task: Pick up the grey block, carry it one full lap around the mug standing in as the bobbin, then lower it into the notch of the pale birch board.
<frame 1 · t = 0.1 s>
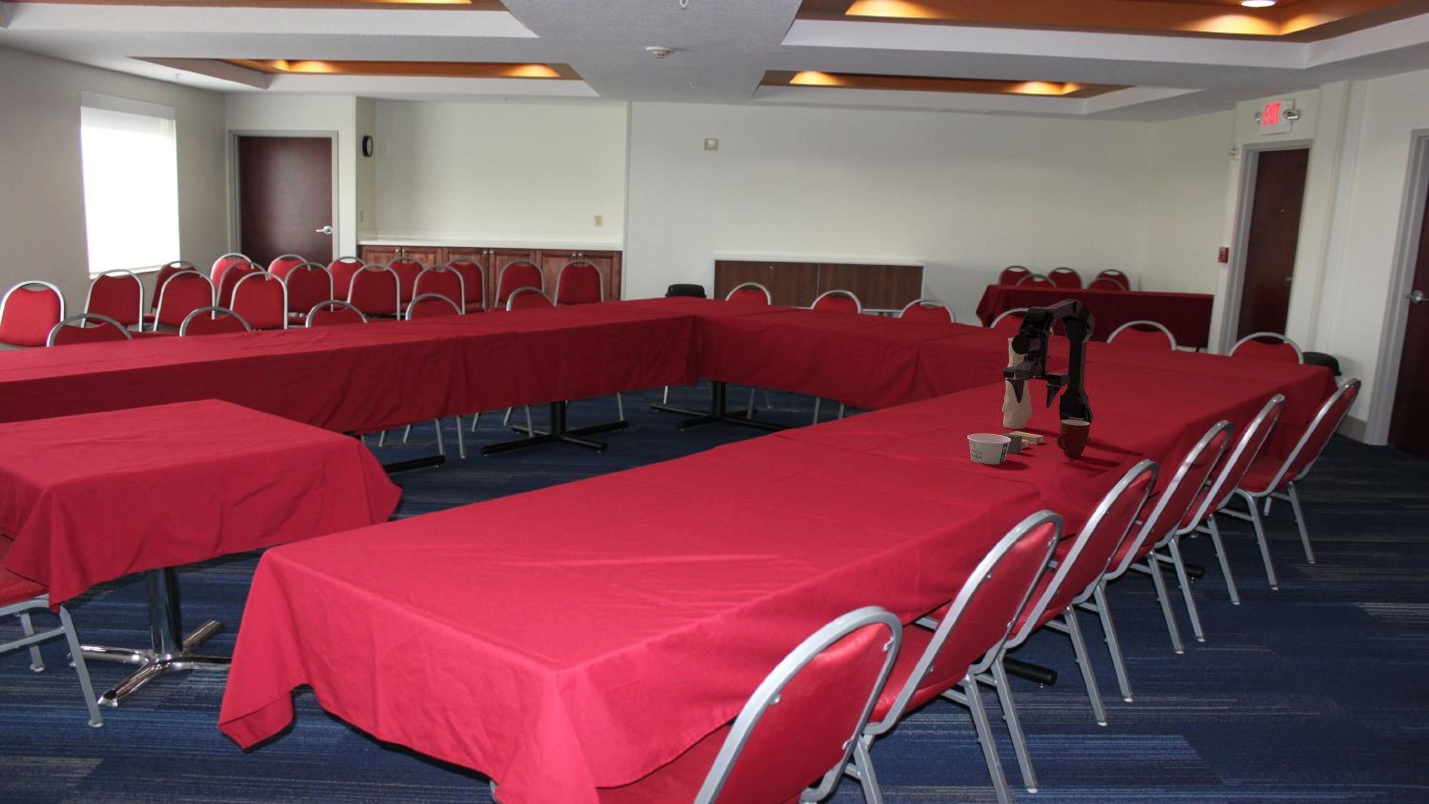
hand: (1033, 405, 306), 15 cm above the table, fingers open, 9 cm apart
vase: (1015, 428, 347), on the table
notch board: (1017, 443, 324), on the table
food container: (987, 461, 301), on the table
mug: (1069, 457, 307), on the table
grey block: (1010, 451, 313), on the table
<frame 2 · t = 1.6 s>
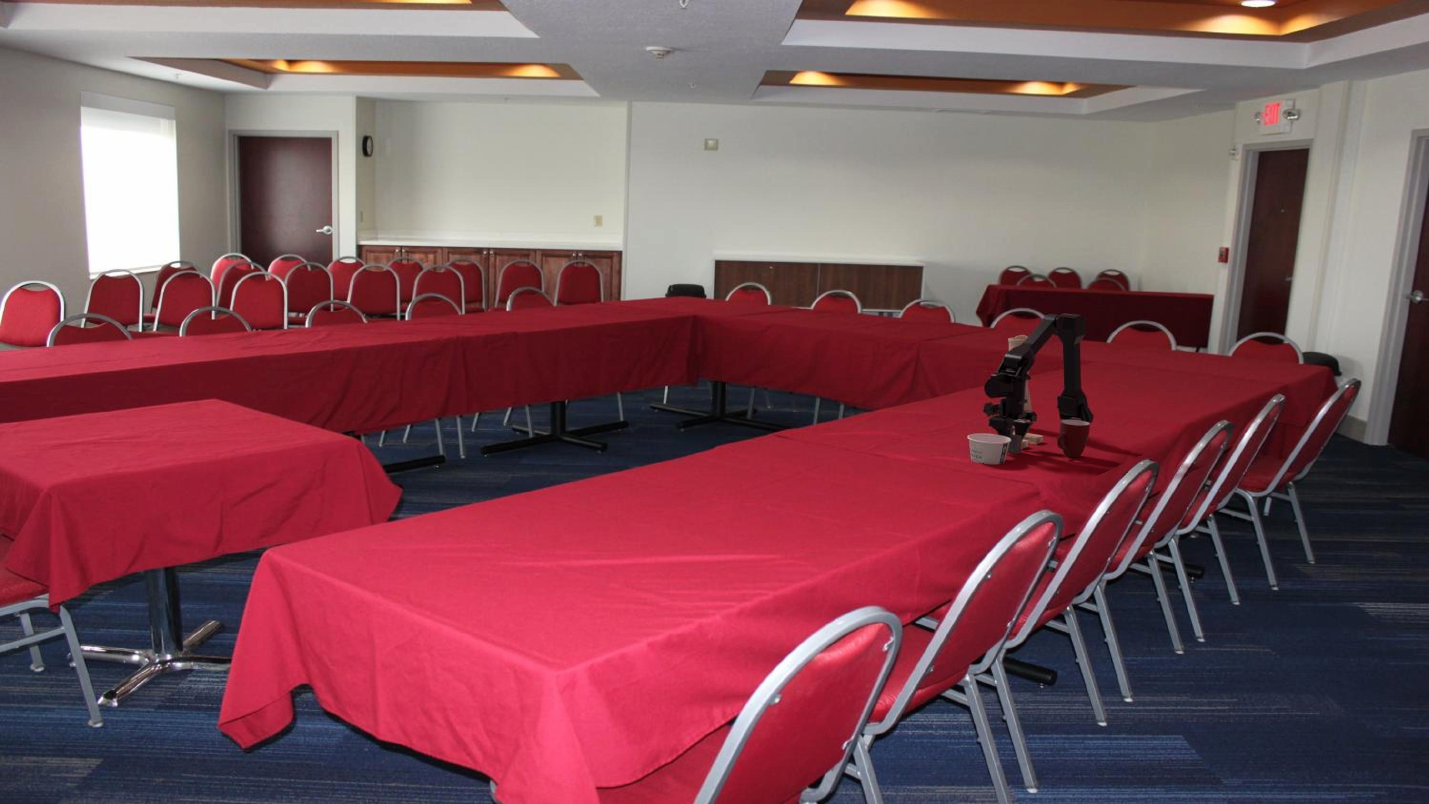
hand: (1010, 447, 312), 1 cm above the table, fingers open, 8 cm apart
nothing on the table moved.
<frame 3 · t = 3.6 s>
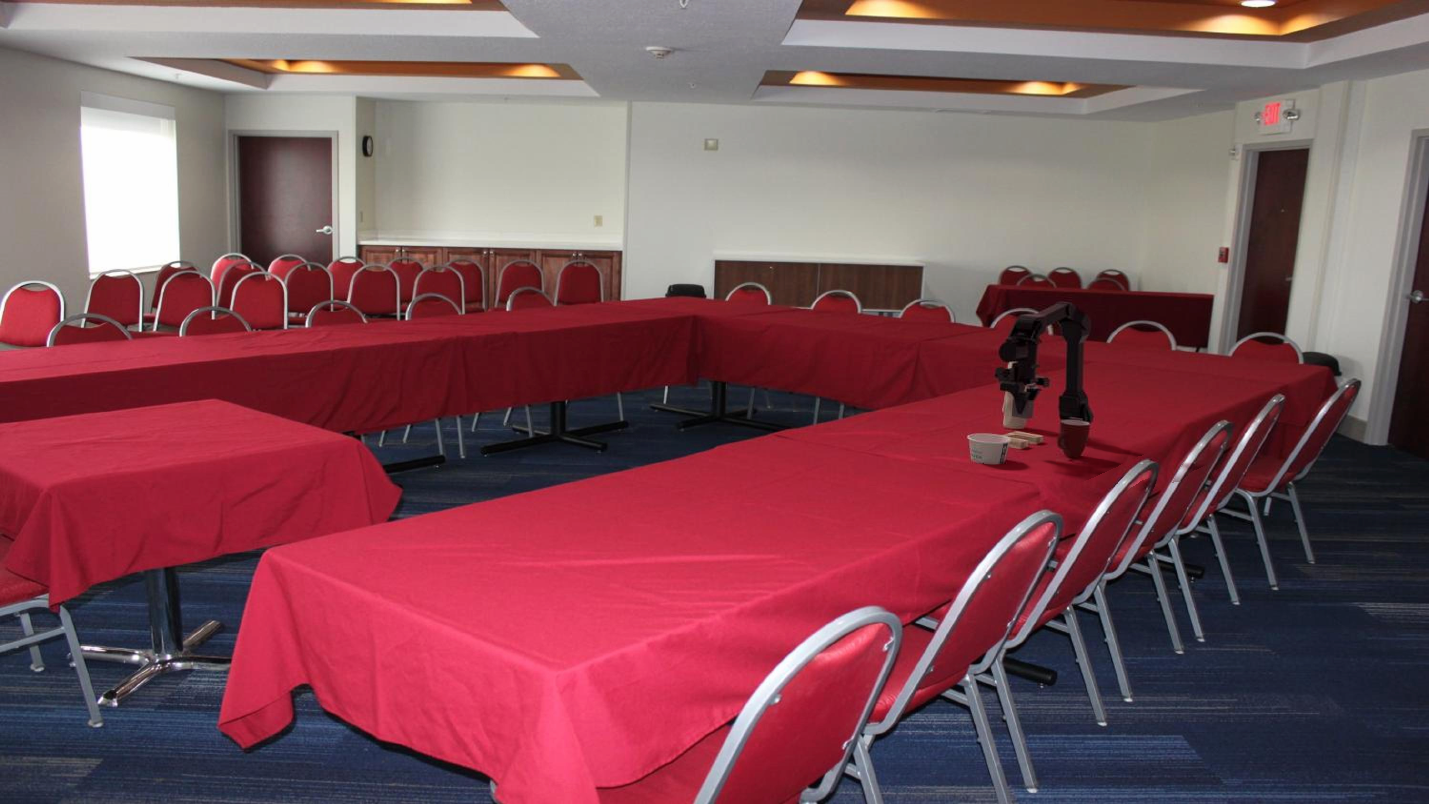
hand: (1022, 413, 307), 12 cm above the table, fingers closed on grey block, 3 cm apart
grey block: (1022, 416, 307), point 11 cm above the table, touching gripper
everything else where it was.
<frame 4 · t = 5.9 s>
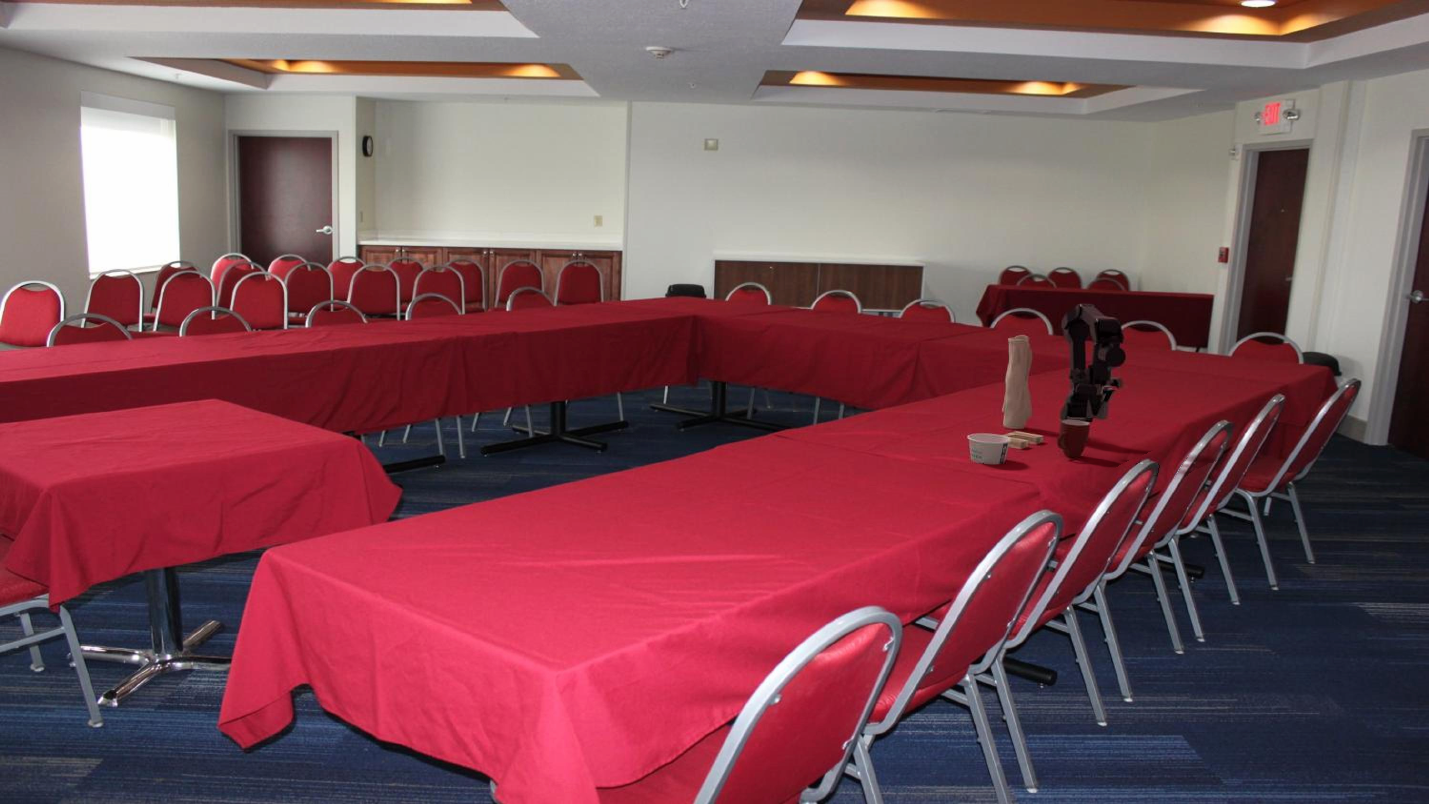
hand: (1097, 414, 309), 12 cm above the table, fingers closed on grey block, 3 cm apart
grey block: (1096, 417, 310), point 11 cm above the table, touching gripper
everything else where it was.
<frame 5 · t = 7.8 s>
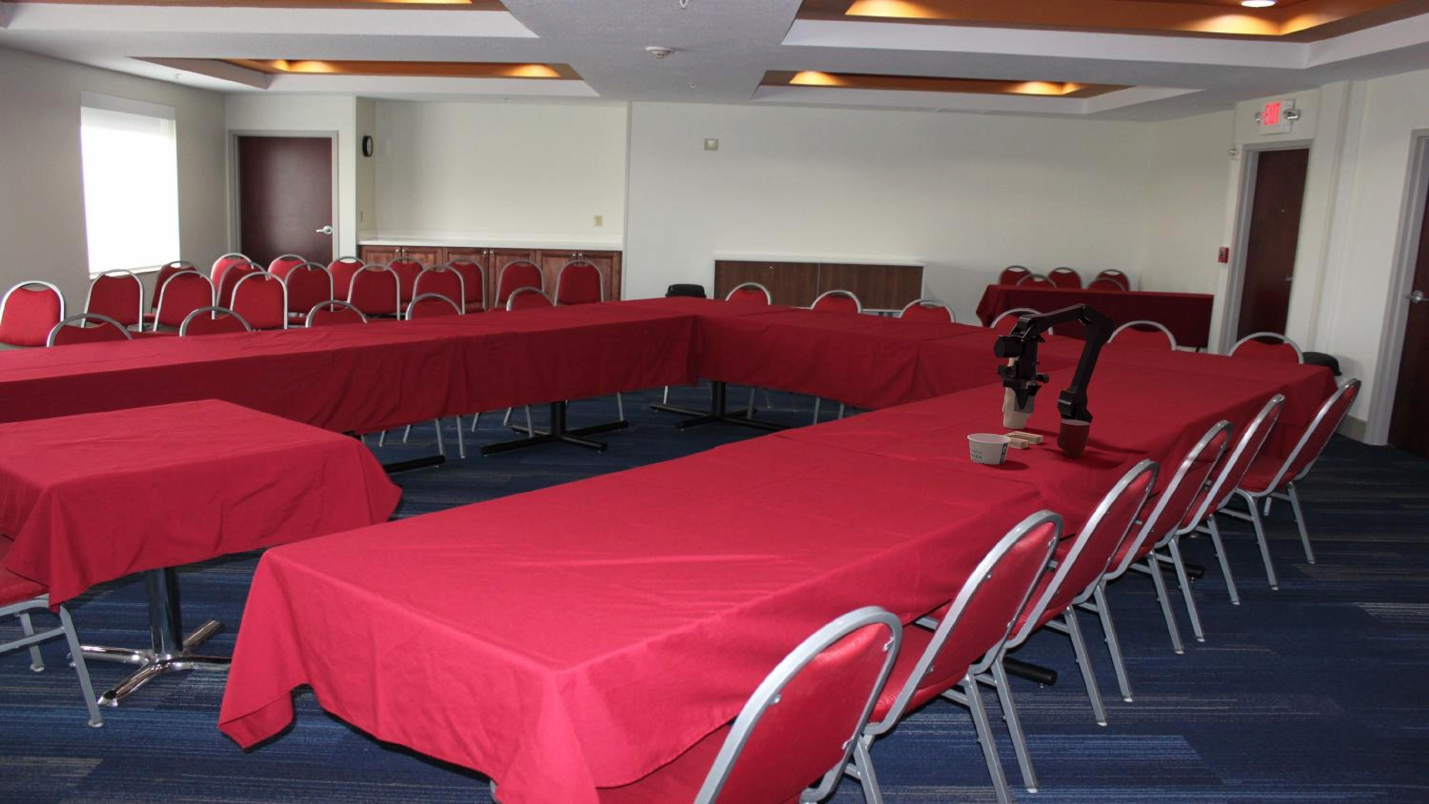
hand: (1023, 408, 321), 11 cm above the table, fingers closed on grey block, 3 cm apart
grey block: (1023, 411, 321), point 10 cm above the table, touching gripper
everything else where it was.
when the fingers open (3 cm above the table, at t = 9.4 s): grey block drops 2 cm, resting in notch board.
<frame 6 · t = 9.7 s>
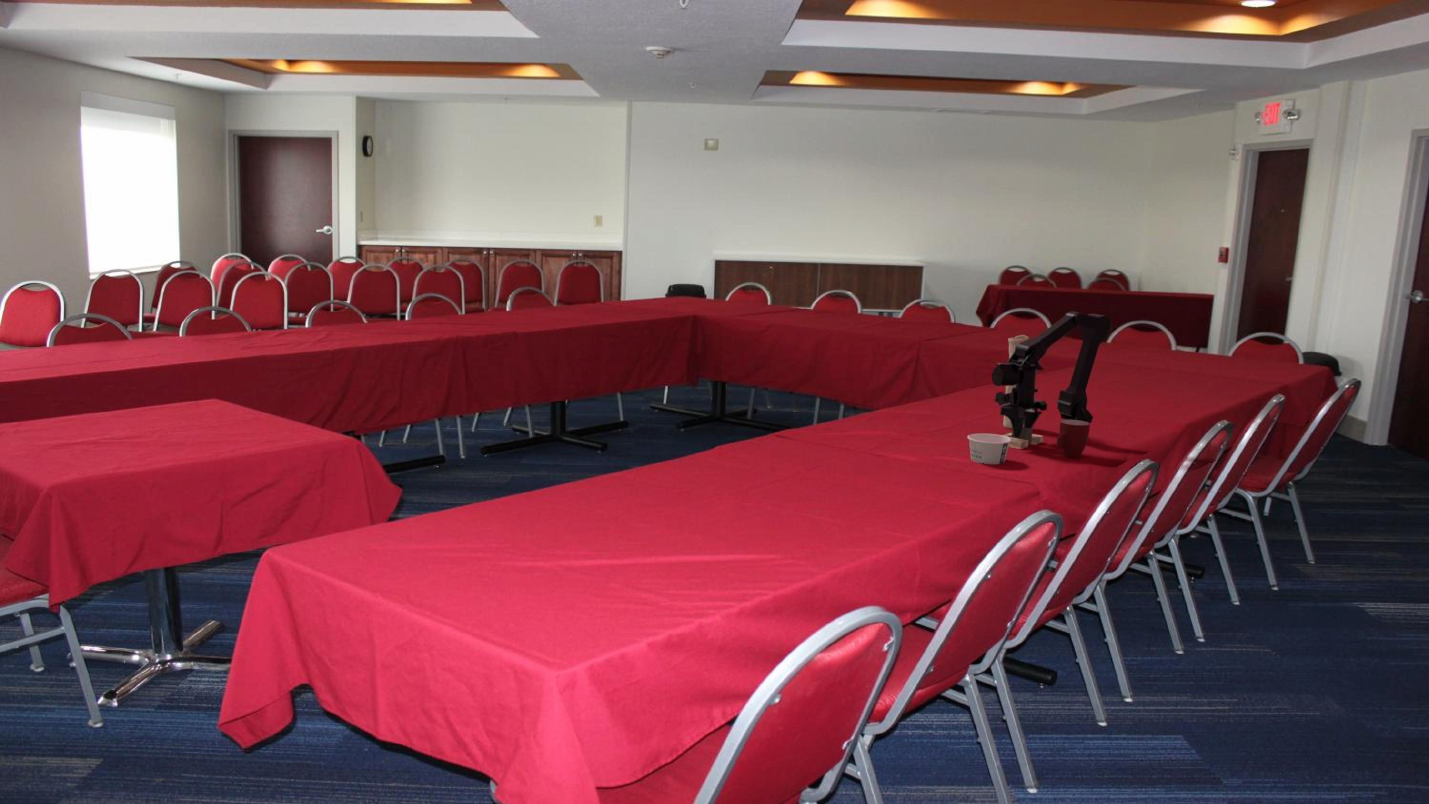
hand: (1021, 435, 323), 2 cm above the table, fingers open, 6 cm apart
grey block: (1021, 444, 323), resting in notch board
everything else where it was.
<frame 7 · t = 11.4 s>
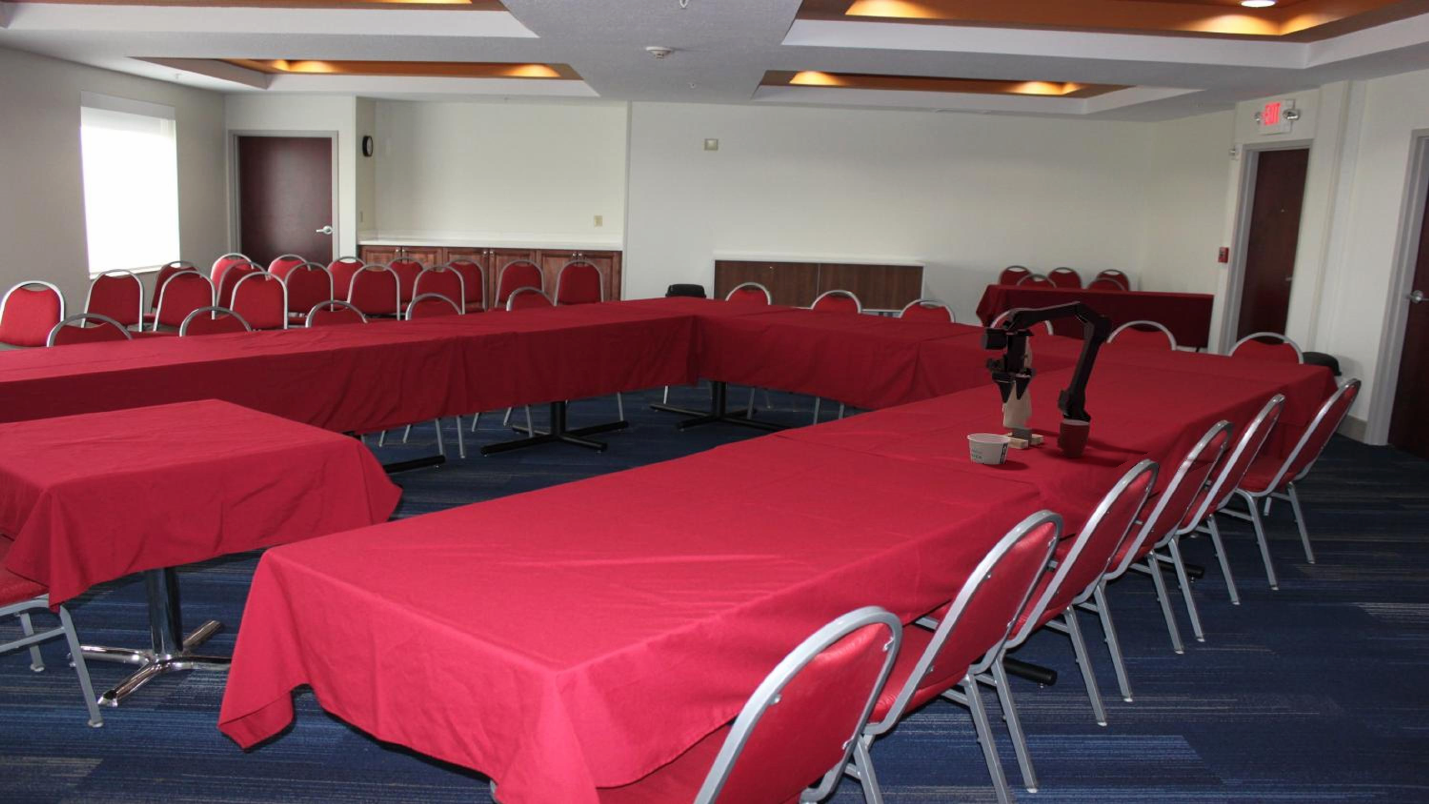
hand: (1011, 401, 325), 12 cm above the table, fingers open, 9 cm apart
nothing on the table moved.
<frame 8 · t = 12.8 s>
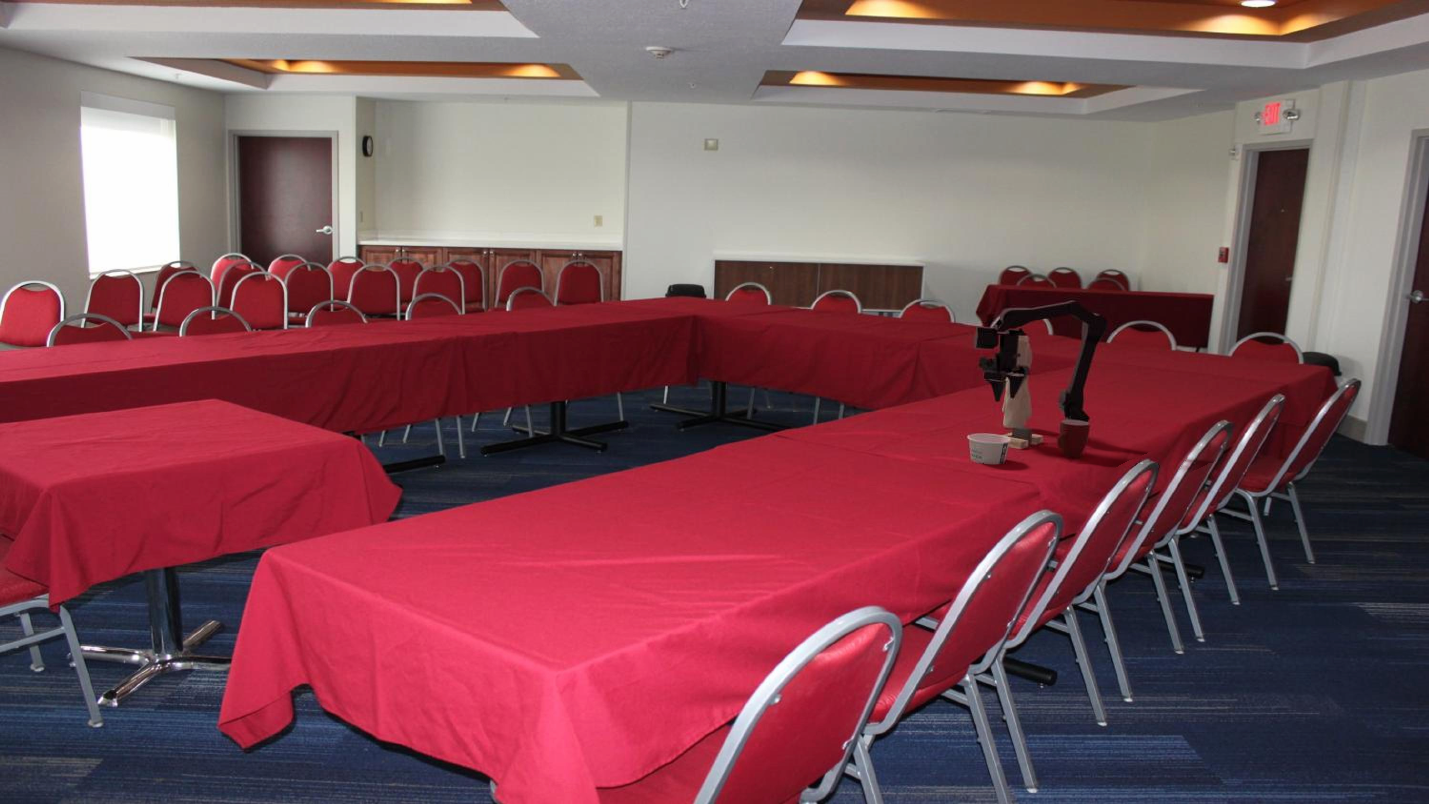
hand: (1004, 400, 328), 12 cm above the table, fingers open, 9 cm apart
nothing on the table moved.
at the end: grey block 0.0 cm from the target spot on the notch board, point 0.0 cm above the notch board's base; grey block tilted 0°; the gripper is holding nothing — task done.
